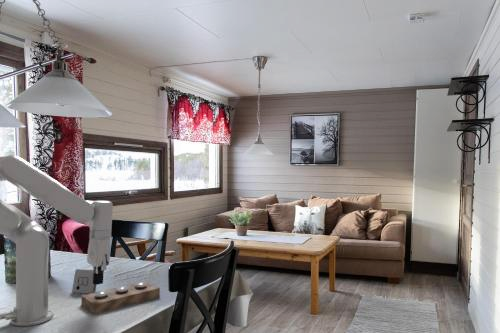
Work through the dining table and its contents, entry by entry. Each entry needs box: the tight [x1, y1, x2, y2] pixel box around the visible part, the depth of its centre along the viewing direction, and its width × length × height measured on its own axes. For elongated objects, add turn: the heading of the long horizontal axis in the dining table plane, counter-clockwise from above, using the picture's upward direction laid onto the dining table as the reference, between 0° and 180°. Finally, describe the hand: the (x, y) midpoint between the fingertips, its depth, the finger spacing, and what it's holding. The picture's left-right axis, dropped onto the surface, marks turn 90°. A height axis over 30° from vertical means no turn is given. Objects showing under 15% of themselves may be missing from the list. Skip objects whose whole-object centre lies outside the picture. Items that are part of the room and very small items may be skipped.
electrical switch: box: [71, 268, 97, 294], centre depth 160 cm, size 9×5×9 cm, turn 78°
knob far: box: [134, 281, 147, 289], centre depth 154 cm, size 4×4×4 cm
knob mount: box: [80, 281, 161, 315], centre depth 149 cm, size 26×12×4 cm, turn 134°
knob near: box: [94, 290, 108, 299], centre depth 143 cm, size 4×4×4 cm
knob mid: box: [115, 285, 128, 294], centre depth 149 cm, size 4×4×4 cm
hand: (97, 283), depth 143 cm, fingers closed
